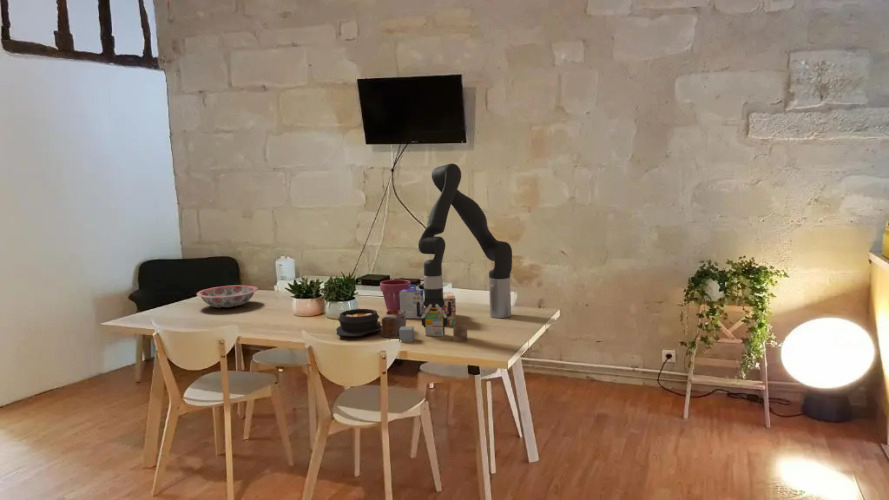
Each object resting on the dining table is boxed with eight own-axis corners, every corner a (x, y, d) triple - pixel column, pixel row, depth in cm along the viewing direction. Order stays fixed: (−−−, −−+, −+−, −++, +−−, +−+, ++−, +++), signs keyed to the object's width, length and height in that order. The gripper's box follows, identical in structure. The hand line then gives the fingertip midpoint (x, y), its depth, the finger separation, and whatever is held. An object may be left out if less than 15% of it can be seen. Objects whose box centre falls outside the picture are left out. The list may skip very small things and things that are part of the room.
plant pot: (414, 305, 331) (413, 279, 329) (407, 312, 317) (406, 284, 315) (385, 305, 333) (384, 279, 331) (377, 311, 319) (376, 284, 318)
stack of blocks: (438, 315, 309) (437, 288, 307) (452, 314, 310) (451, 287, 308) (441, 327, 288) (440, 298, 286) (456, 326, 288) (455, 297, 287)
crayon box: (444, 334, 275) (443, 306, 274) (443, 336, 272) (442, 307, 271) (427, 334, 277) (426, 305, 275) (425, 336, 274) (424, 307, 272)
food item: (388, 329, 287) (387, 305, 286) (407, 329, 286) (406, 306, 285) (380, 337, 274) (379, 313, 273) (399, 338, 273) (398, 313, 271)
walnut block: (467, 338, 269) (467, 325, 268) (466, 341, 264) (466, 328, 264) (454, 338, 270) (454, 325, 269) (453, 341, 265) (453, 329, 264)
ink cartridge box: (424, 315, 308) (423, 284, 306) (422, 318, 303) (420, 286, 301) (403, 315, 310) (402, 284, 308) (400, 318, 305) (398, 286, 303)
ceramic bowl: (234, 298, 363) (233, 283, 362) (271, 303, 346) (270, 288, 345) (185, 309, 340) (184, 293, 339) (222, 315, 323) (221, 299, 322)
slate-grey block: (414, 338, 271) (413, 326, 270) (412, 342, 266) (412, 329, 265) (401, 338, 271) (400, 326, 271) (399, 342, 266) (399, 329, 266)
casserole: (369, 341, 269) (368, 320, 268) (325, 339, 274) (324, 319, 273) (390, 325, 293) (389, 306, 292) (349, 324, 298) (348, 305, 296)
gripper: (452, 284, 275) (453, 324, 277) (416, 285, 276) (418, 324, 279) (450, 288, 268) (452, 329, 270) (414, 288, 269) (415, 329, 271)
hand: (434, 326), depth 274 cm, fingers closed on crayon box, 7 cm apart
